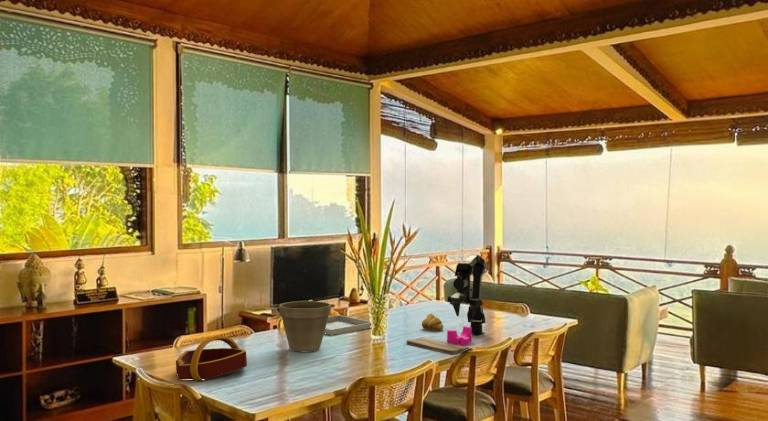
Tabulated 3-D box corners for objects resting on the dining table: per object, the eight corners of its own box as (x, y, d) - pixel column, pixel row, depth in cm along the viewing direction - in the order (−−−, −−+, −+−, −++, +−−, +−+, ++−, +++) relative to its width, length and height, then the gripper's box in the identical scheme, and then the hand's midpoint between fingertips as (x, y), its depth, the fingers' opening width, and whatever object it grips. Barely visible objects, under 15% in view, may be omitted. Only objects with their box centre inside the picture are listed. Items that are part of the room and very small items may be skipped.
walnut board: (422, 340, 328) (423, 337, 328) (468, 350, 306) (468, 347, 306) (406, 343, 320) (406, 340, 320) (452, 354, 298) (452, 351, 298)
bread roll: (447, 330, 353) (447, 316, 352) (434, 332, 347) (434, 318, 346) (431, 326, 363) (431, 312, 363) (418, 328, 357) (418, 314, 356)
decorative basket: (214, 364, 289) (209, 331, 290) (268, 360, 278) (263, 326, 279) (162, 385, 258) (157, 348, 258) (221, 382, 247) (215, 344, 247)
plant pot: (310, 340, 326) (310, 298, 326) (341, 348, 309) (341, 304, 308) (269, 348, 309) (269, 304, 309) (299, 357, 291) (299, 310, 291)
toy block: (457, 347, 313) (457, 332, 313) (447, 345, 317) (447, 330, 317) (475, 342, 323) (475, 327, 323) (465, 340, 328) (465, 326, 328)
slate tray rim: (339, 319, 382) (339, 314, 382) (374, 327, 360) (374, 322, 359) (296, 326, 361) (296, 321, 361) (331, 335, 338) (331, 330, 338)
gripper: (440, 286, 324) (440, 317, 324) (469, 290, 310) (469, 322, 311) (454, 284, 331) (454, 314, 332) (483, 288, 318) (483, 319, 319)
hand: (464, 317), depth 323 cm, fingers open, 9 cm apart
